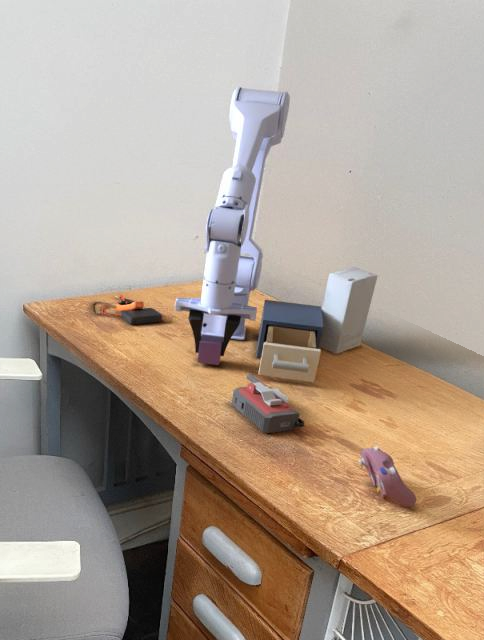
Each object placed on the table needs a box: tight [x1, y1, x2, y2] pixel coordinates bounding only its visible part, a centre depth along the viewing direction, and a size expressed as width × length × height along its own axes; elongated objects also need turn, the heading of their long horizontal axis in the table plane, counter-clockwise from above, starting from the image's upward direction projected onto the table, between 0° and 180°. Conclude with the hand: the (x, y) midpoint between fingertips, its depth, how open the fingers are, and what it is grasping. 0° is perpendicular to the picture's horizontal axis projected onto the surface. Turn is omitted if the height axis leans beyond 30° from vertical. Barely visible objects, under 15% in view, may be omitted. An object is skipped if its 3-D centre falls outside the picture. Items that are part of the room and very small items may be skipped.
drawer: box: [257, 325, 322, 383], centre depth 140 cm, size 16×10×6 cm, turn 169°
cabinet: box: [255, 299, 323, 360], centre depth 151 cm, size 13×11×8 cm
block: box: [196, 334, 224, 366], centre depth 144 cm, size 4×4×4 cm
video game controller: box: [358, 445, 417, 508], centre depth 108 cm, size 10×5×7 cm, turn 5°
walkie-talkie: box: [230, 373, 306, 434], centre depth 129 cm, size 9×4×20 cm
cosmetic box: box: [319, 266, 379, 355], centre depth 153 cm, size 8×6×15 cm
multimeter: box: [92, 294, 163, 325], centre depth 166 cm, size 18×12×3 cm, turn 21°
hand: (209, 352), depth 144 cm, fingers closed on block, 4 cm apart
